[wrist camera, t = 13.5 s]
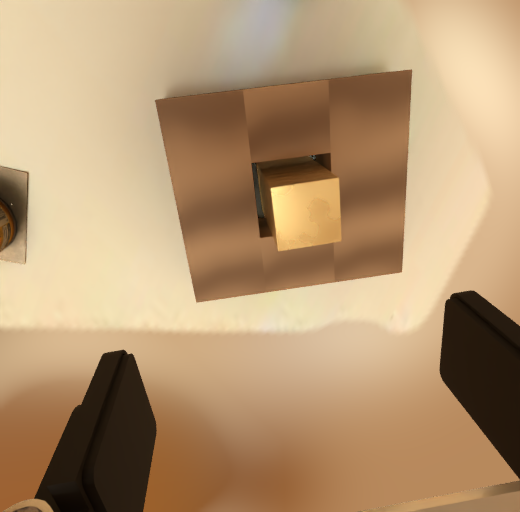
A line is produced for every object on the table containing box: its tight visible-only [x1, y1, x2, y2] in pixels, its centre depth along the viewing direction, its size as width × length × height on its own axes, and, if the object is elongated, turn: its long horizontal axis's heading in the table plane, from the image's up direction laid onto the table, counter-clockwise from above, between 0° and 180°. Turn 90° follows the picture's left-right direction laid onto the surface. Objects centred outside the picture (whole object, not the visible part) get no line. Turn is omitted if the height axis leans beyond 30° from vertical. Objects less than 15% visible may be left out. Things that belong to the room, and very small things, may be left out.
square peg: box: [256, 156, 342, 251], centre depth 30 cm, size 4×4×10 cm
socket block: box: [155, 70, 412, 303], centre depth 32 cm, size 16×18×5 cm
